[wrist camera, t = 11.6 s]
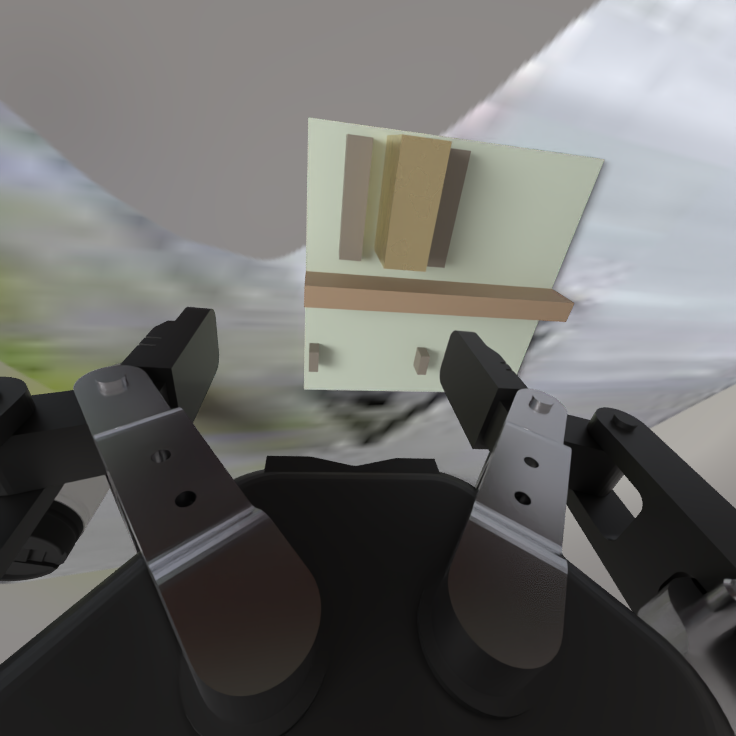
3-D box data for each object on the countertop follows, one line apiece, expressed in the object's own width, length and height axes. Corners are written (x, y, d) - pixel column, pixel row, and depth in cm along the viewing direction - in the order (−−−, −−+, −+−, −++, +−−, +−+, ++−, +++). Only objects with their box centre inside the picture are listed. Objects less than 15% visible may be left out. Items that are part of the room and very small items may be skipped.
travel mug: (108, 350, 36) (-69, 528, 20) (174, 376, 39) (66, 553, 22) (93, 392, 39) (-75, 582, 22) (156, 414, 41) (47, 598, 25)
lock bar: (409, 252, 33) (425, 271, 28) (373, 249, 33) (383, 268, 28) (428, 141, 29) (451, 141, 24) (387, 135, 28) (402, 134, 23)
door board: (596, 158, 32) (638, 161, 28) (505, 388, 46) (524, 413, 42) (308, 118, 28) (307, 114, 24) (304, 384, 42) (302, 411, 37)
